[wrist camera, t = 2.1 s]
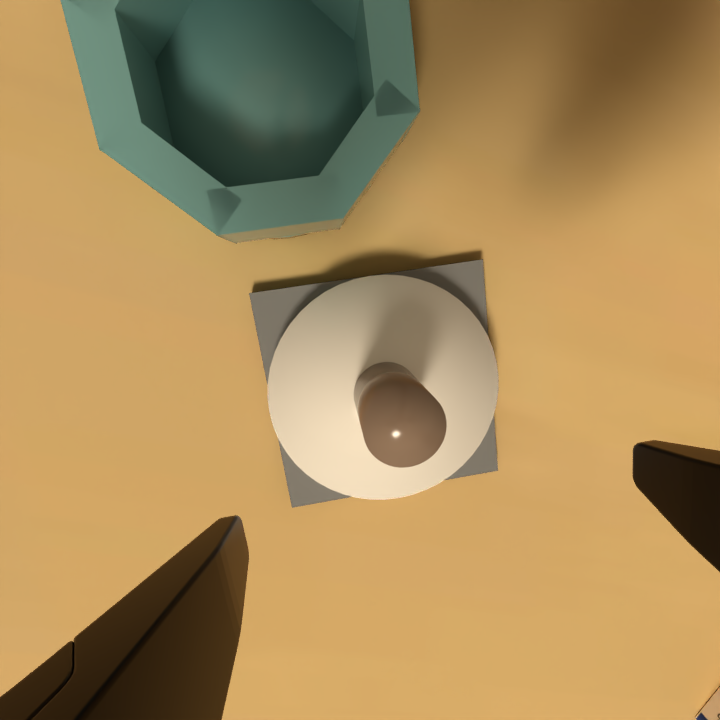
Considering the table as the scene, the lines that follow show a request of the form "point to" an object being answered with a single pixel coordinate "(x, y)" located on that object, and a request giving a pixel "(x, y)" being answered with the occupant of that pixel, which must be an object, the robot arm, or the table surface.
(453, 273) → the mat
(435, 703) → the table surface
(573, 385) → the table surface
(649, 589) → the table surface
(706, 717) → the beverage box
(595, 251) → the table surface
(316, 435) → the lid
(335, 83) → the bowl
